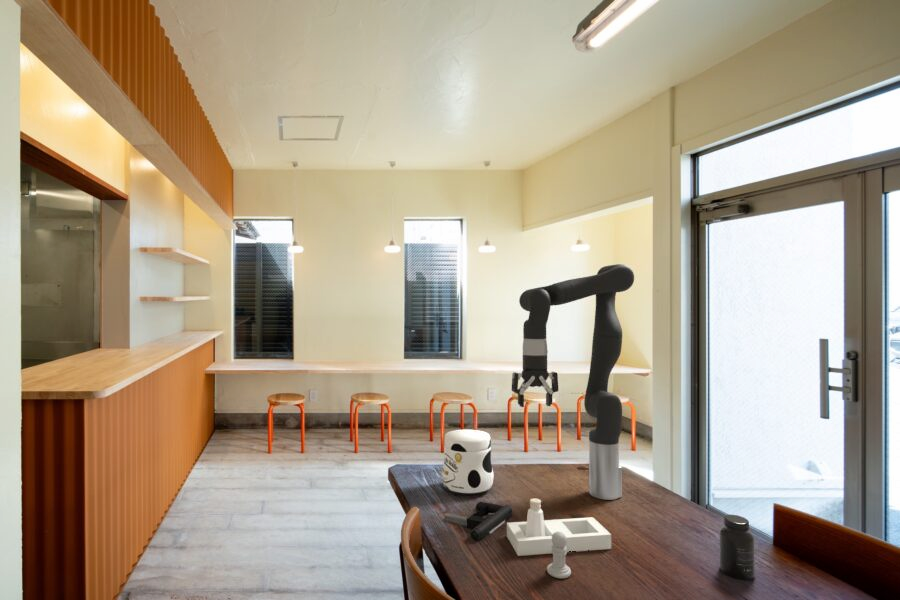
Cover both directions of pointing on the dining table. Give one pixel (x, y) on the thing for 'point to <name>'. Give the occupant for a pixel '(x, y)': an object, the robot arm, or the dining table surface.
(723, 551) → the supplement bottle
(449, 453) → the milk container
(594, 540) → the rail
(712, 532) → the dining table surface
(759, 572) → the dining table surface
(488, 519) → the door handle
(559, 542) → the chess piece
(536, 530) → the salt shaker
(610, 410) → the robot arm
